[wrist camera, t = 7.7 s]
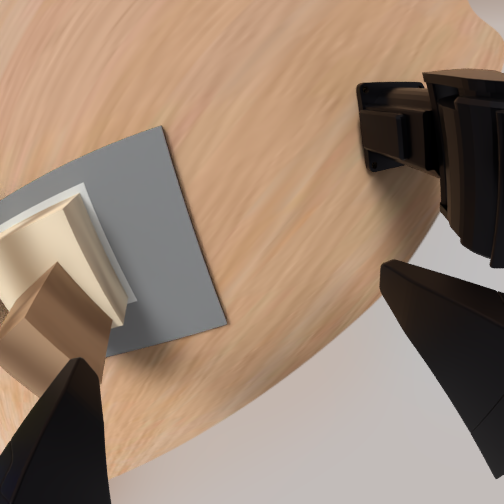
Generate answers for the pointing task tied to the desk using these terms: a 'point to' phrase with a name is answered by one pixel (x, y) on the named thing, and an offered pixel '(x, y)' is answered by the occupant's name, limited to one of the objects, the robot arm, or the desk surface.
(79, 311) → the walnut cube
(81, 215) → the maple slab
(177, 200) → the build mat
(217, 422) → the desk surface
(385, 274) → the robot arm
